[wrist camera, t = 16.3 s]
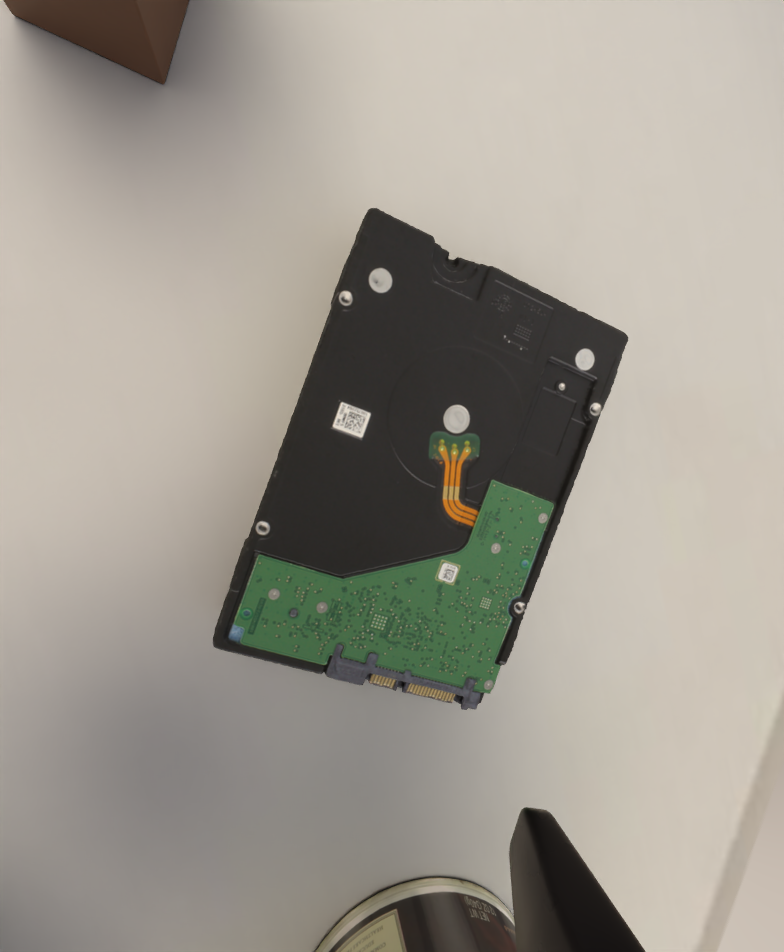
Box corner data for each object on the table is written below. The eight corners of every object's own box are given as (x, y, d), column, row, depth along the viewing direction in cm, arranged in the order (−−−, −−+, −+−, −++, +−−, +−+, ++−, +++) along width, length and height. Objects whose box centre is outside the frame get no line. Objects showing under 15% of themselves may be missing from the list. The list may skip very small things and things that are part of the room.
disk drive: (350, 233, 18) (216, 621, 18) (363, 199, 15) (205, 655, 16) (587, 343, 20) (466, 682, 21) (635, 330, 18) (495, 720, 18)
